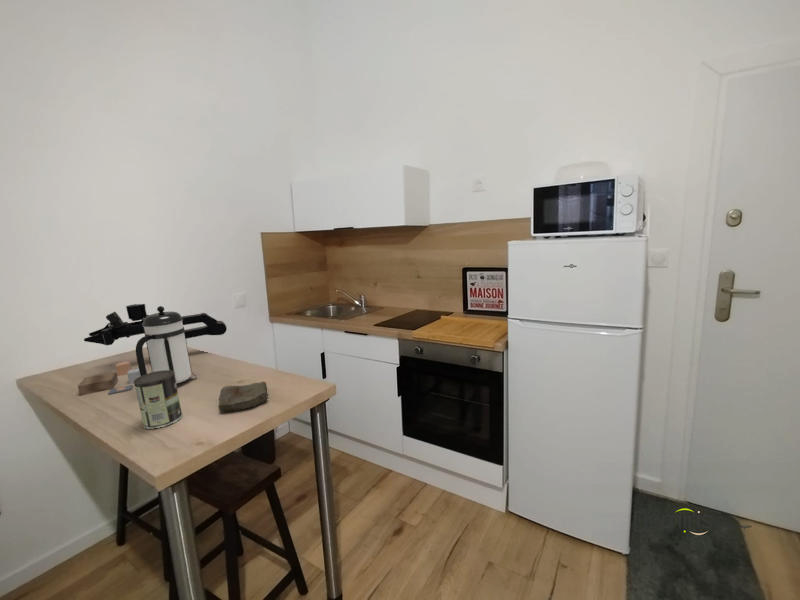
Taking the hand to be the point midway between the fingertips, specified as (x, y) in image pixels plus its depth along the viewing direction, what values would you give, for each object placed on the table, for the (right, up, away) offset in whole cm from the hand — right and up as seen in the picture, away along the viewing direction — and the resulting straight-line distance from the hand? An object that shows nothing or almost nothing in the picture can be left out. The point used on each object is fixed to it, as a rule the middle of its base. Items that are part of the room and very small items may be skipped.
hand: (86, 337), depth 159 cm
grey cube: (+27, -17, -8) cm, 32 cm away
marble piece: (+79, -18, -34) cm, 88 cm away
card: (+27, -18, -17) cm, 36 cm away
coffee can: (+59, -21, -44) cm, 77 cm away
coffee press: (+45, -17, -15) cm, 50 cm away
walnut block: (+16, -18, -13) cm, 27 cm away
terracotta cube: (+14, -15, +2) cm, 21 cm away
